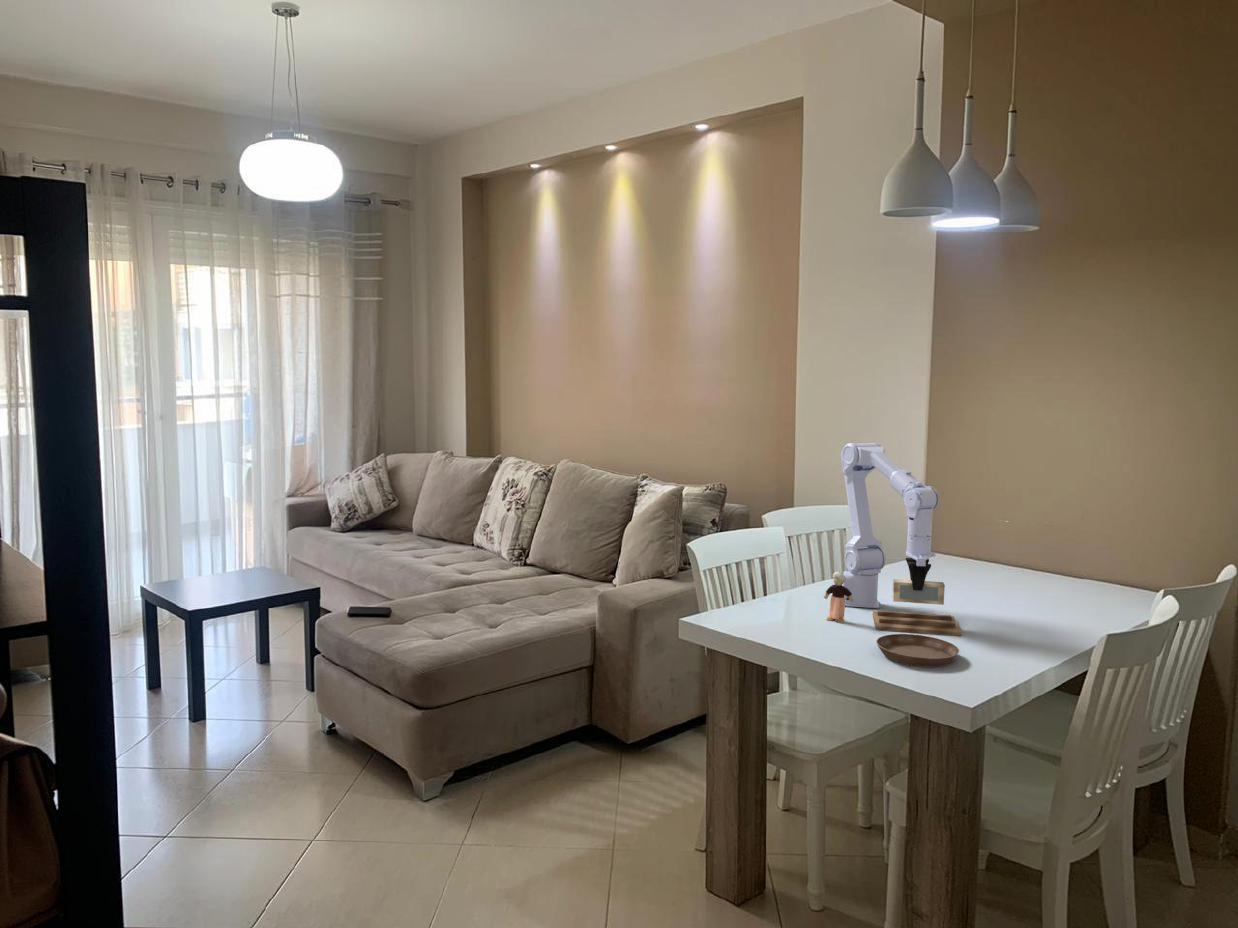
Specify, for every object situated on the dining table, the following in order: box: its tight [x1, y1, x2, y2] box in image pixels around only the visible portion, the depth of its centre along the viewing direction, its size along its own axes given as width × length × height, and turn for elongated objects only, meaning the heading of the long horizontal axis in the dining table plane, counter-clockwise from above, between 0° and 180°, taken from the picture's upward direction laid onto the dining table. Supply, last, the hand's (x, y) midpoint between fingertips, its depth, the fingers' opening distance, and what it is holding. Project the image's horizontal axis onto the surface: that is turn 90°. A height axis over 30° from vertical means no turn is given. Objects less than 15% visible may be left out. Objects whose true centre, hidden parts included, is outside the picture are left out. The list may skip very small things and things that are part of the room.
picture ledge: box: [872, 610, 962, 637], centre depth 229 cm, size 20×14×2 cm
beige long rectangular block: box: [892, 578, 945, 606], centre depth 228 cm, size 12×3×5 cm, turn 77°
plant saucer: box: [875, 633, 960, 668], centre depth 204 cm, size 18×18×3 cm
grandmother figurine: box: [823, 571, 854, 623], centre depth 231 cm, size 8×4×13 cm, turn 68°
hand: (916, 588), depth 228 cm, fingers closed on beige long rectangular block, 3 cm apart
